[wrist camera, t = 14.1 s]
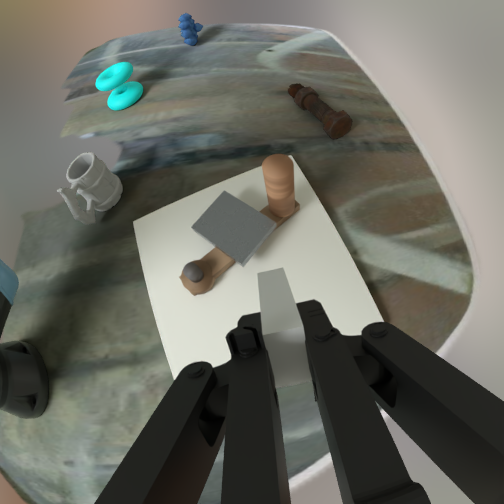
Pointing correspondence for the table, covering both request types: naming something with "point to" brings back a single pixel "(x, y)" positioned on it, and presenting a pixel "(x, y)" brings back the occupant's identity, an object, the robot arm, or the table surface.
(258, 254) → the base plate
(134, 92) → the donuts
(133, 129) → the table surface
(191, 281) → the link
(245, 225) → the block
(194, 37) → the blue knobby flower
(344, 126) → the bolt
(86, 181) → the mug
